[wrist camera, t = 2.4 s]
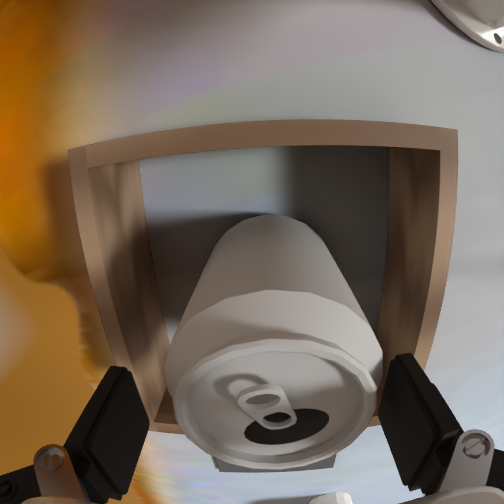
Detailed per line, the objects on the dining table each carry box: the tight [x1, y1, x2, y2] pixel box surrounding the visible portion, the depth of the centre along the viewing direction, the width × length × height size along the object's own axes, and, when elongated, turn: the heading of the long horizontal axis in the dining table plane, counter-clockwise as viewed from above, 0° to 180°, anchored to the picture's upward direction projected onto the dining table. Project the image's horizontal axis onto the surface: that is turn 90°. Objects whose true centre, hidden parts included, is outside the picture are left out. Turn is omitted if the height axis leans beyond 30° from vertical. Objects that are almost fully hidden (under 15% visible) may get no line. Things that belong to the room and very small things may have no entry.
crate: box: [68, 120, 458, 434], centre depth 17 cm, size 17×17×6 cm
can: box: [164, 214, 383, 469], centre depth 14 cm, size 8×8×12 cm
